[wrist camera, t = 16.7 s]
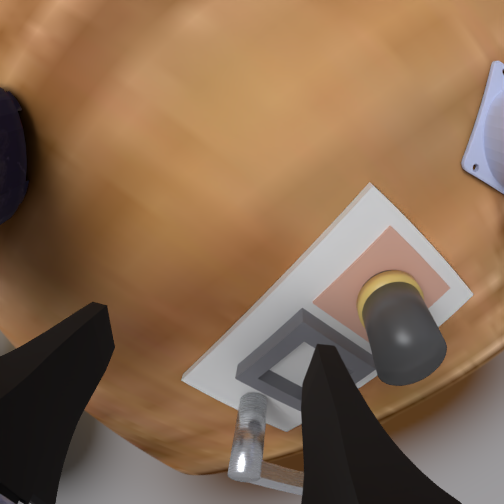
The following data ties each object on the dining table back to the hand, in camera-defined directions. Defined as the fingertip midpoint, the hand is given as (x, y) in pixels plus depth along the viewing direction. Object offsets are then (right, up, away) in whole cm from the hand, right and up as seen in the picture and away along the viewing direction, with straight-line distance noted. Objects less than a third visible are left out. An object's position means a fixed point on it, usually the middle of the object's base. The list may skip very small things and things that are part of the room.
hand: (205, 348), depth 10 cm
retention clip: (+6, -12, +16) cm, 21 cm away
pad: (+10, 0, +9) cm, 14 cm away
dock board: (+7, -4, +13) cm, 15 cm away
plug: (+10, 0, +9) cm, 14 cm away
